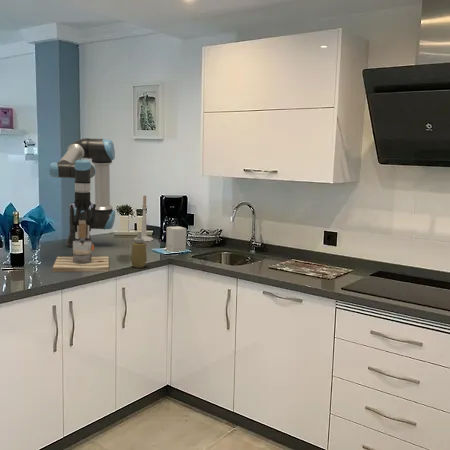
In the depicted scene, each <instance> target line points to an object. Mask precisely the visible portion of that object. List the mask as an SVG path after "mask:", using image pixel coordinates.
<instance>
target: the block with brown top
mask: <svg viewBox="0 0 450 450" xmlns="http://www.w3.org/2000/svg"><path fill="white" fill-rule="evenodd" d="M79 238H80V240H76V241H73V247H72V255H73V254H74V255H89V254H91V255H92V252H93V251H95V244H94V243H93V241H92V242H91V241H88V240H85V238H86V221H85V220H79Z"/></svg>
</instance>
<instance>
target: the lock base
mask: <svg viewBox="0 0 450 450" xmlns="http://www.w3.org/2000/svg"><path fill="white" fill-rule="evenodd" d="M109 259H110V258H109V256H104V255H103V256H102V255H101V256H99V255H97V256H92V253H91V254H89V255H74V254H73V253H72V256H57V257H56V259H55V261H54V264H53V266H52V273H59V272H60V273H73V272H75V273H77V272H78V273H84V272H86V273H87V272H101V273H102V272H107V273H108V272H110V271H109V268H110V265H109V261H110V260H109Z"/></svg>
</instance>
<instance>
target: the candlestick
mask: <svg viewBox="0 0 450 450" xmlns="http://www.w3.org/2000/svg"><path fill="white" fill-rule="evenodd" d="M142 199H143V200H142V205H141V207H142V221H141V231H140V232H141V237H142V239H144V241H151V240H153V239H154V238H153V237H151V236H148V234H147V211H146V209H147V207H148V206H147V195H143V197H142ZM136 238H137V236H136V237H134V239H133V241H134V240H135V239H136ZM153 241H154V240H153ZM151 242H152V241H151Z"/></svg>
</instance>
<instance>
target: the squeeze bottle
mask: <svg viewBox="0 0 450 450" xmlns="http://www.w3.org/2000/svg"><path fill="white" fill-rule="evenodd" d="M136 237H137V238H136ZM136 237H135V238H136V239H135V241H134V242H133V243H132V246H131V253H130V255H131V256H130V261H131V265H132V267H133V268H145V267H146V263H147V261H148V259H147V245H146V242H144V239H142V237H141V231H138V232H137V236H136Z"/></svg>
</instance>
